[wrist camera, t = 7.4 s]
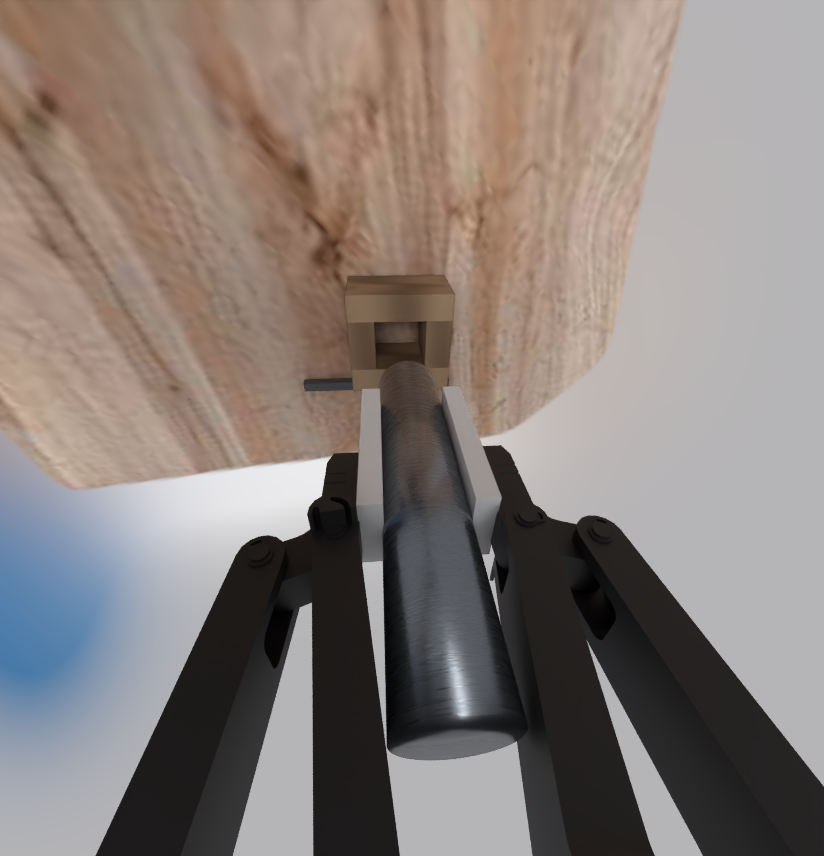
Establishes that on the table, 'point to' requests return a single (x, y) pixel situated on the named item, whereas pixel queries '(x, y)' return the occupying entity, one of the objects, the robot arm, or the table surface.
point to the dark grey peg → (436, 591)
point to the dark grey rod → (330, 384)
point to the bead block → (398, 303)
